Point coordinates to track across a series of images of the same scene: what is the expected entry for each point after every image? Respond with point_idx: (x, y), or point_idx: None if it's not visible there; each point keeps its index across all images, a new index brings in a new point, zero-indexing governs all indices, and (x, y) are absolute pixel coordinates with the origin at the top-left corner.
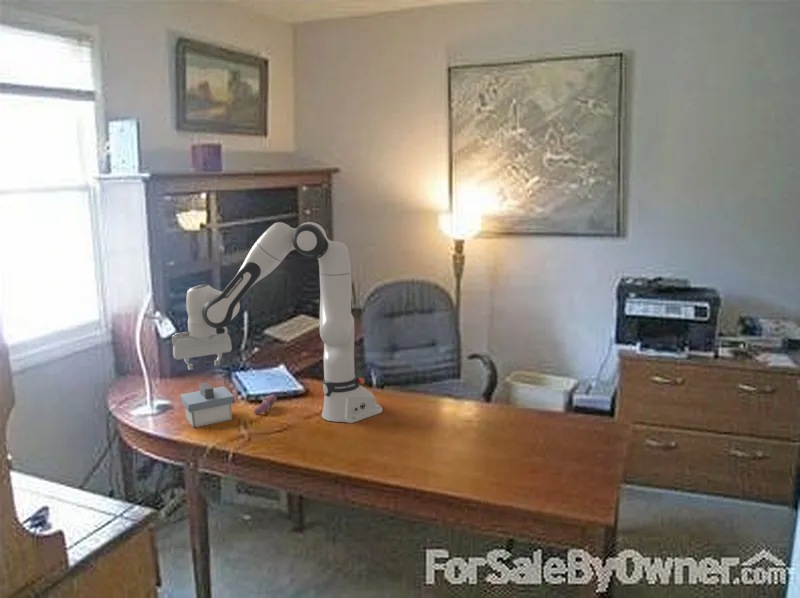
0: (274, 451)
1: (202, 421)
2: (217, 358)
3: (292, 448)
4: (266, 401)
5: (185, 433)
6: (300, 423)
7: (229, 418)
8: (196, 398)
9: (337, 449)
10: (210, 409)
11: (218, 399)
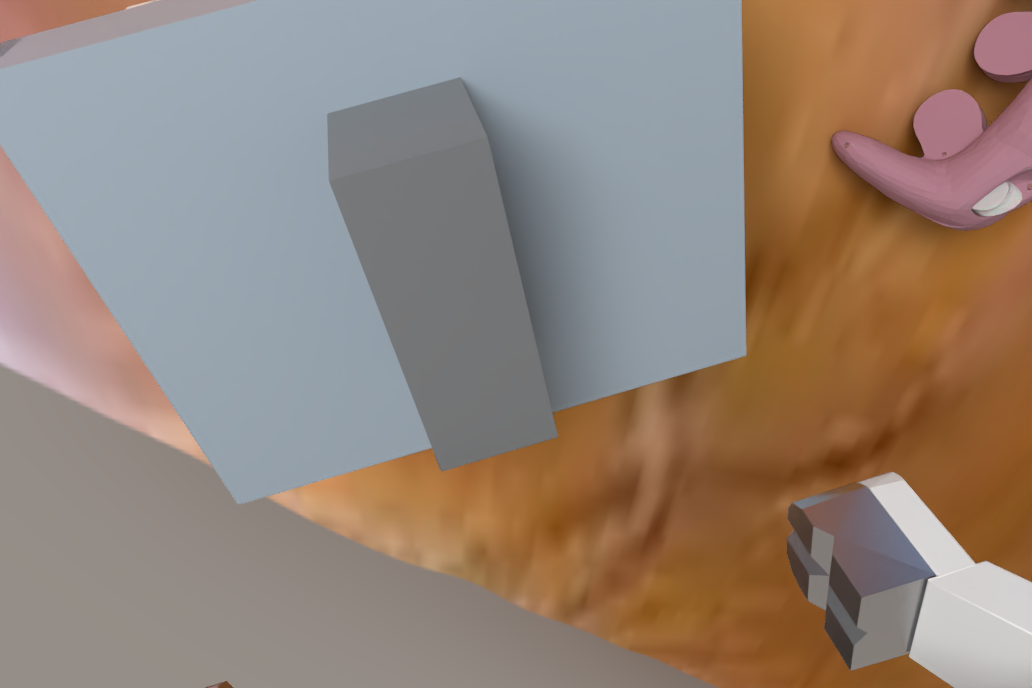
0: (723, 642)
1: None
2: (974, 634)
3: (803, 626)
4: (996, 215)
5: None
6: (995, 389)
7: None
8: (302, 339)
9: None
10: None
11: (569, 404)
